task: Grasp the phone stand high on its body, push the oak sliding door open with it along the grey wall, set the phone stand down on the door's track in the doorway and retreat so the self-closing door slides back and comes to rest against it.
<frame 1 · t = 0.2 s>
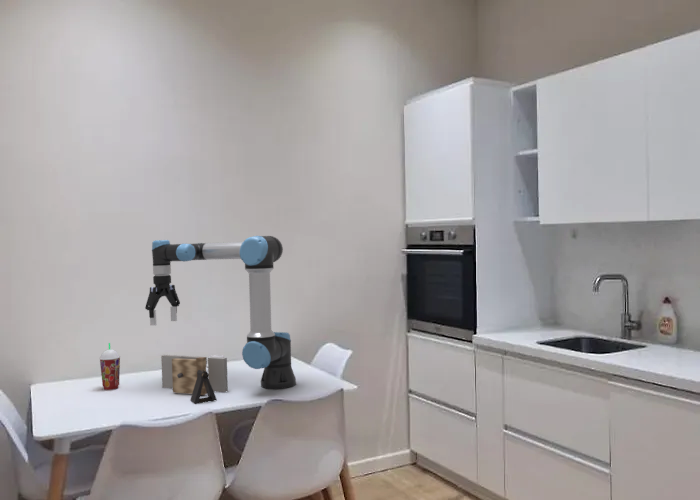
hand: (163, 323, 275), 28 cm above the table, fingers open, 13 cm apart
smoothie: (111, 388, 274), on the table
wall: (194, 389, 268), on the table
phone stand: (203, 401, 248), on the table
cup: (214, 370, 306), on the table
door: (188, 375, 258), point 8 cm above the table, slide at 0.0 cm
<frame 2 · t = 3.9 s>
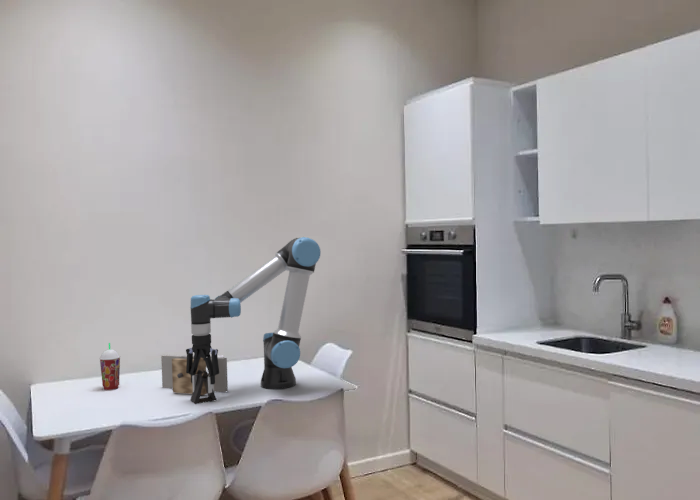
hand: (203, 391, 248), 4 cm above the table, fingers closed on phone stand, 7 cm apart
phone stand: (203, 401, 248), on the table, touching gripper
everything else where it was.
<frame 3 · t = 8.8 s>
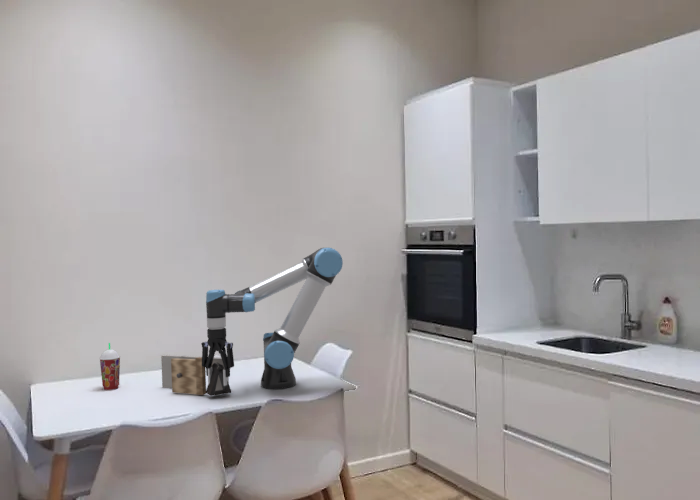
hand: (218, 384, 254), 5 cm above the table, fingers closed on phone stand, 6 cm apart
phone stand: (218, 393, 254), point 1 cm above the table, touching gripper
door: (187, 375, 258), point 8 cm above the table, slide at 0.4 cm, touching hand
everything else where it was.
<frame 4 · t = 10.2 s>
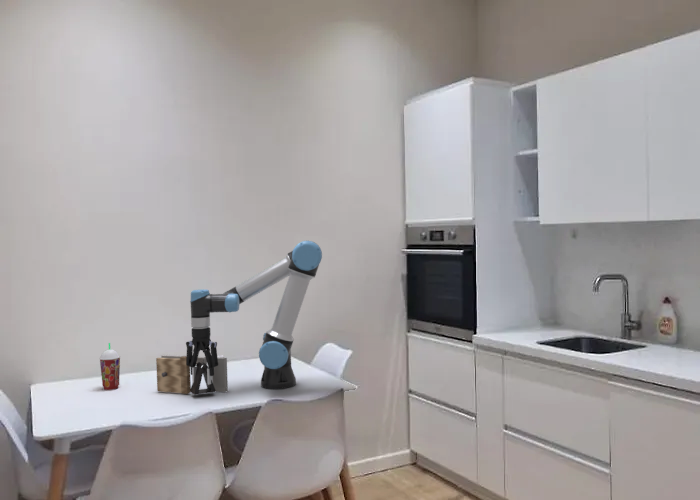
hand: (202, 383, 256), 5 cm above the table, fingers closed on phone stand, 6 cm apart
phone stand: (203, 392, 256), point 1 cm above the table, touching gripper
door: (172, 374, 261), point 8 cm above the table, slide at 8.0 cm, touching gripper, hand
everything else where it was.
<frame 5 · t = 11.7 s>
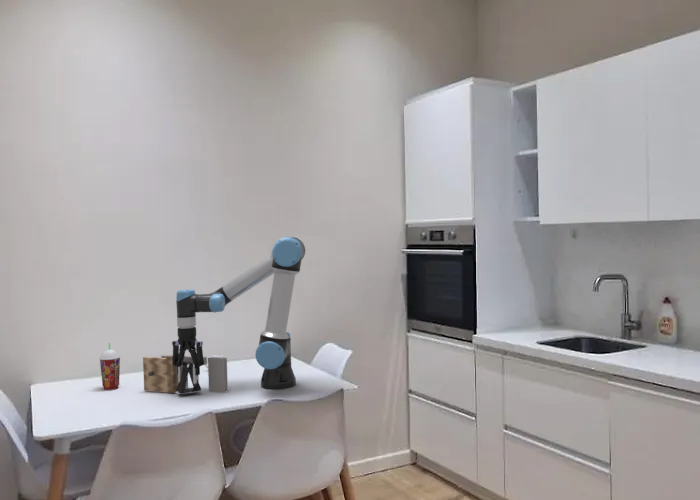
hand: (188, 382, 259), 5 cm above the table, fingers closed on phone stand, 6 cm apart
phone stand: (188, 391, 259), point 1 cm above the table, touching gripper
door: (158, 373, 264), point 8 cm above the table, slide at 14.9 cm, touching gripper, hand
everything else where it was.
when the fingers open (5 cm above the table, at t = 13.1 s): phone stand drops 1 cm, on the table.
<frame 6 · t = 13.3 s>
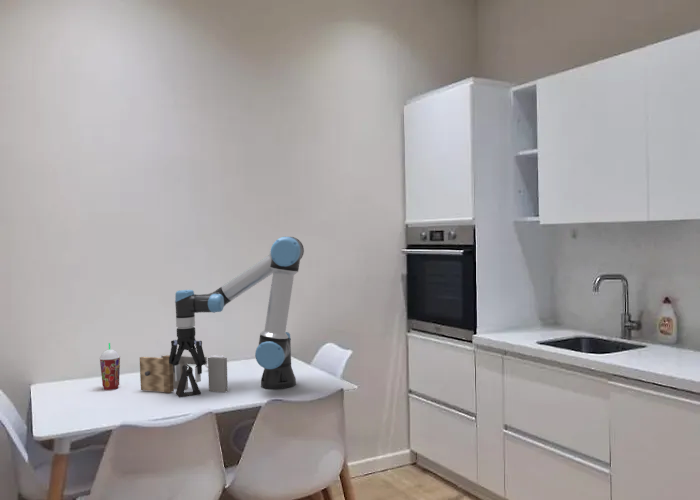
hand: (188, 381, 259), 5 cm above the table, fingers open, 9 cm apart
phone stand: (188, 394, 259), on the table
door: (155, 373, 264), point 8 cm above the table, slide at 16.7 cm, touching gripper
everything else where it was.
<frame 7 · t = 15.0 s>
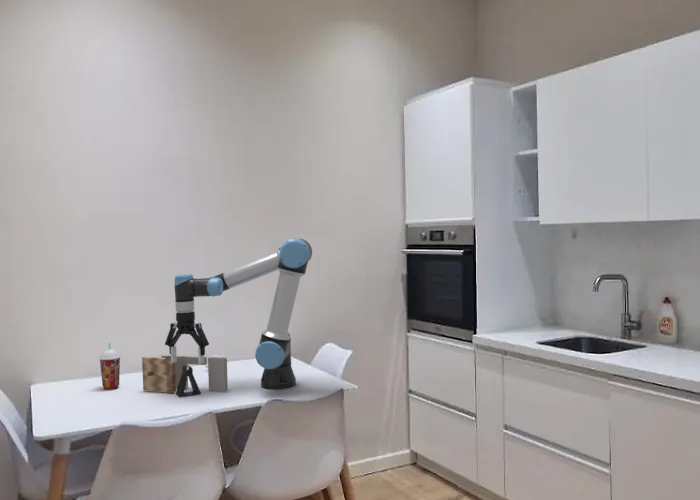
hand: (187, 362, 259), 13 cm above the table, fingers open, 13 cm apart
door: (157, 373, 264), point 8 cm above the table, slide at 15.4 cm
everything else where it was.
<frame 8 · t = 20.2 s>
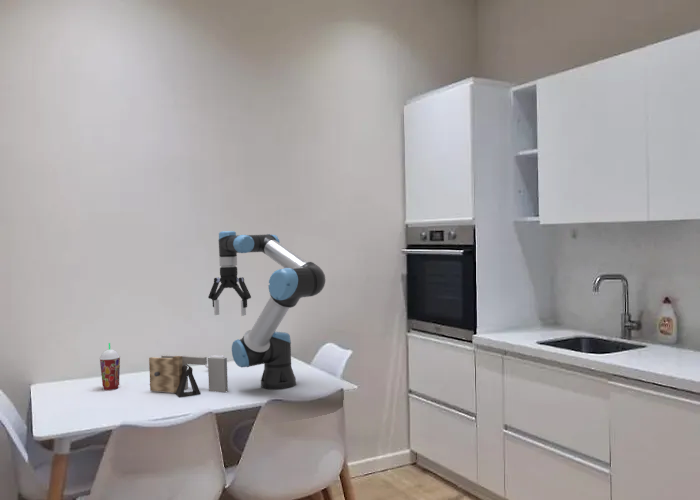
hand: (230, 315, 273), 31 cm above the table, fingers open, 13 cm apart
door: (165, 373, 263), point 8 cm above the table, slide at 11.7 cm
everything else where it was.
at the end: door slide at 11.7 cm; phone stand inside the target area (1.4 cm from its centre), on the table; phone stand tilted 0° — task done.
